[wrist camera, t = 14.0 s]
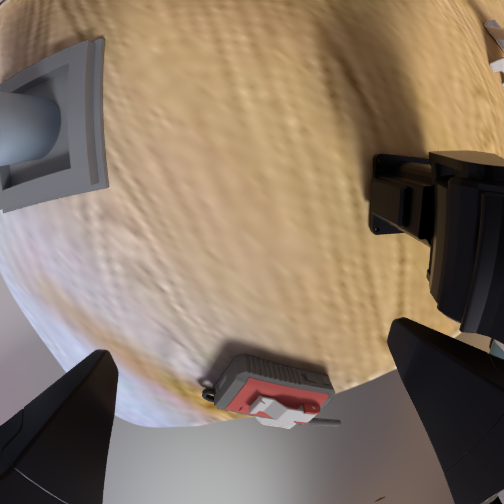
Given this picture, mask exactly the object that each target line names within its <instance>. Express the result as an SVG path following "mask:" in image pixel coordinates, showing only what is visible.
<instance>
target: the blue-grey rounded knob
mask: <svg viewBox="0 0 504 504" xmlns="http://www.w3.org/2000/svg"><path fill="white" fill-rule="evenodd" d="M60 127H61V115H60V111H59V108H58V106H57V104H56V103H55V102H54V101H53V100H51V99H47V98H41V97H36V96H29V95H23V94H16V93H8V92H0V166H5V165H10V164H15V163H20V162H26V161H32V160H38V159H41V158H43V157H45V156H46V155H47V154H48V153H49V152H50V151H51V150H52V148H53V147H54V145H55V143H56V141H57V138H58V136H59V132H60Z"/></svg>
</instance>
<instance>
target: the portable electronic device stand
mask: <svg viewBox="0 0 504 504" xmlns="http://www.w3.org/2000/svg"><path fill="white" fill-rule="evenodd" d="M484 26H485V27H486V29H487V30H488V32H489V33H490V34H491V35H492V36H493V38H494V39H495V41H496V42H497V43H498V45H499V46H500V48H501V49H502V51H503V52H504V28H501V27H500V26H499V24H498V23H497V22H496V20H488V21H486V22H485V23H484ZM490 67H491V68H492V70H493V71H494V72H499V71H502V72H503V73H504V57H503V58H500V59H498V60H496V61H493V62H491V63H490ZM502 85H503V87H504V82H503V83H502Z"/></svg>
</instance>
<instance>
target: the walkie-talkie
mask: <svg viewBox="0 0 504 504" xmlns="http://www.w3.org/2000/svg"><path fill="white" fill-rule="evenodd" d="M208 394H213V395H214V396H211V395H208ZM334 394H335V391H334V388H333V386H332V384H331V382H330V379H329V377H328V375H324V374H319V373H315V372H310V371H306V370H302V369H298V368H293V367H289V366H284V365H280V364H279V363H278V364H276V363H275V362H273V363H272V362H270V361H265V360H261V359H260V358H255V357H251V356H250V355H245V354H241V355H237V356H235V357H234V359H233V360H232V362H231V363H230V365H229V366H228V368H227V369H226V371H225V372H224V373H223V375H222V376H221V378H220V379H219V381H218V382H217V384H216V385H215V387H214V388H206V389H204V390H203V392H202V397H203V398H204V399H206V400H208V401H210V402H214V406H216V407H217V408H218V409H222V410H227V411H232V412H237V413H241V414H246V415H251V416H254V417H255V418H256V419H257V420H258V421H259V422H260V423H261V424H263V425H269V426H276V427H284V428H286V429H291V428H292V427H293V426H294V425H295V424H297V425H302V424H306V425H318V426H336V427H338V426H340V425H341V421H340V420H332V419H321V418H313V417H314V416H316V415H317V414H318V413H319V412H320V410H321V409H322V408H323V407H324V405H326V404H327V403H329V402H331V400H332V399H333V396H334Z"/></svg>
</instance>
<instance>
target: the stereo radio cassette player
mask: <svg viewBox="0 0 504 504" xmlns="http://www.w3.org/2000/svg"><path fill="white" fill-rule="evenodd" d="M489 354H492V355H494V356H496V357H499V358H501V359H504V344H502V343H500V342H499V341H497V340H495V339H493V342H492V346H491V349H490V352H489Z"/></svg>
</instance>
